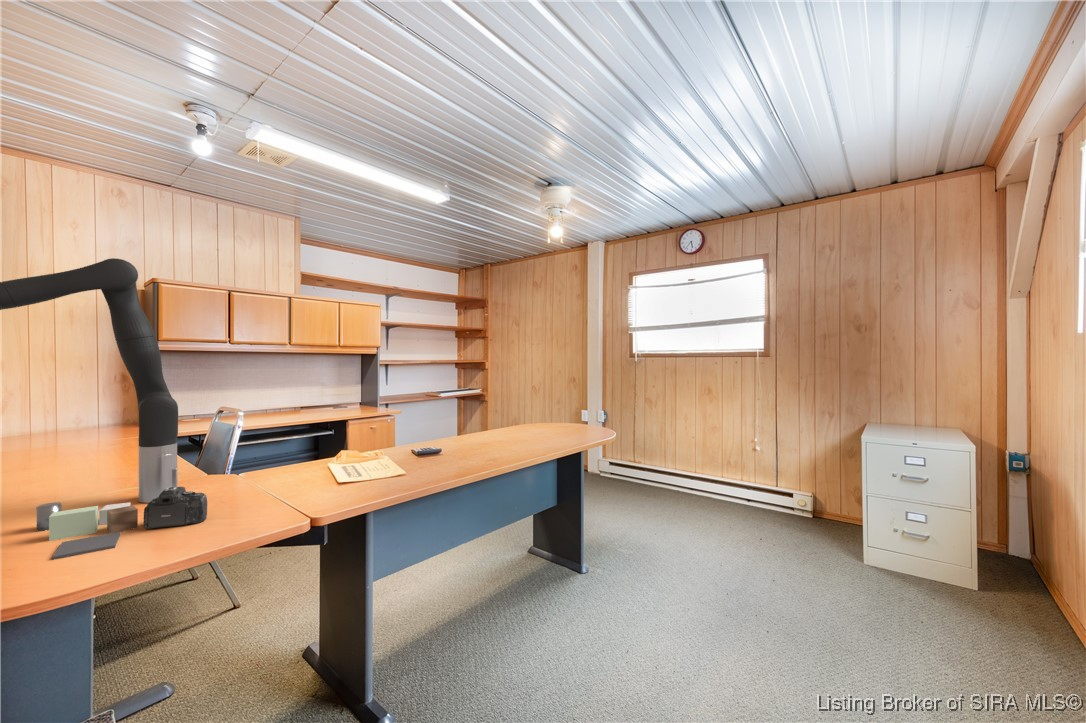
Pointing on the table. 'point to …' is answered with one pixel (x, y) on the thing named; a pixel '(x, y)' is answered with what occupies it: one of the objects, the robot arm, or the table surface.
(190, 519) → the camera
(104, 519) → the grey box
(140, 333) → the robot arm
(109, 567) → the table surface
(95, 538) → the mat
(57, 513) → the sage block
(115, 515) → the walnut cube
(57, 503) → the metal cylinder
